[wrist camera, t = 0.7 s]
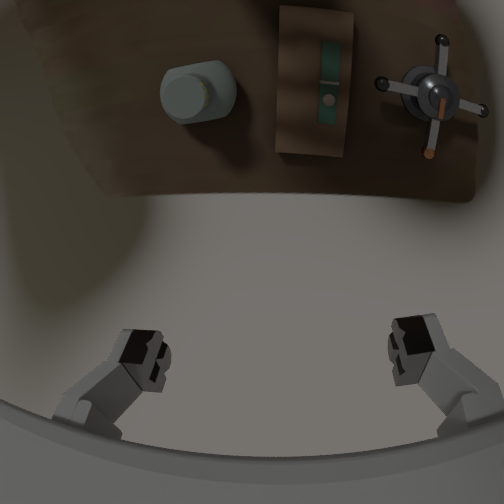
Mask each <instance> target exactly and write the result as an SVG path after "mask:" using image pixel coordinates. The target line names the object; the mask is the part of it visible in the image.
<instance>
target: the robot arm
mask: <svg viewBox="0 0 504 504" xmlns="http://www.w3.org/2000/svg"><path fill="white" fill-rule="evenodd" d="M391 327H392V330H393V332H392V333H391V334H390V335H389V339H388V354H389V358H390V361H391V362H392V363H393V364H394V367H393V370H392V372H393V376H394V381H395V385H396V386H402V385H409V384H416V383H418V385H419V386H420V387H421V388H422V390H423V391H424V392H425V393H426V394H427V395H428V396H429V397H430V398H431V399H432V401H433V402H434V403H435V404H436V405H437V406H438V407H439V408H440V409H441V411H442V412H443V413H444V414H445V415H446V416H447V417H446V419H445V420H444V421H443V423H442V424H441V425H440V426H439V428H438V429H437V434H438V437H437V438H433V439H428V440H424V441H420V442H415V443H411V444H406V445H401V446H395V447H389V448H383V449H376V450H369V451H362V452H354V453H344V454H333V455H320V456H301V457H251V456H230V455H217V454H205V453H197V452H188V451H180V450H173V449H167V448H161V447H155V446H149V445H143V444H139V443H134V442H129V441H125V440H121V436H122V432H121V430H120V429H118V427H116V426H115V425H114V424H113V423H114V422H115V421H116V420H117V419H118V418H119V417H120V416H121V415H122V414H123V413H124V411H125V410H126V409H127V408H128V407H129V406H130V405H131V404H132V403H133V402H134V401H135V400H136V399H137V398H138V396H139V395H140V394H141V393H142V391H148V392H162V390H163V387H164V384H165V381H166V376H165V374H164V373H165V372H166V371H167V370H168V369H169V368H170V364H171V351H170V348H169V346H168V345H167V344H166V343H164V342H163V335H162V333H161V332H160V331H154V330H136V329H123V330H122V331H121V332H120V334H119V336H118V338H117V340H116V343H115V345H114V347H113V349H112V351H111V353H110V356H109V357H108V359H107V362H105V361H104V362H102V363H101V364H100V365H98V366H97V367H96V368H95V369H93V370H92V371H91V372H89V373H88V374H87V375H86V376H85V377H83V378H82V379H81V380H80V381H78V382H77V383H76V384H74V385H73V386H72V387H71V388H69V389H68V390H67V391H66V392H64V393H63V394H62V397H61V399H60V401H59V403H58V406H57V408H56V410H55V412H54V415H53V417H52V419H48V418H45V417H43V416H40V415H37V414H35V413H32V412H30V411H27V410H25V409H22V408H20V407H17V406H15V405H12V404H10V403H8V402H6V401H4V400H1V399H0V504H504V399H503V396H502V393H501V390H500V388H499V385H498V383H497V382H495V381H494V380H493V379H492V378H490V377H489V376H488V375H487V374H485V373H484V372H483V371H482V370H480V369H479V368H478V367H477V366H475V365H474V364H473V363H472V362H470V361H469V360H468V359H467V358H465V357H464V356H463V355H461V354H460V353H459V352H458V351H456V350H455V349H450V348H449V346H448V343H447V340H446V338H445V336H444V333H443V330H442V328H441V325H440V323H439V321H438V319H437V316H436V315H435V314H434V313H431V314H425V315H417V316H410V317H403V318H396V319H394V320H393V322H392V326H391Z"/></svg>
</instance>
